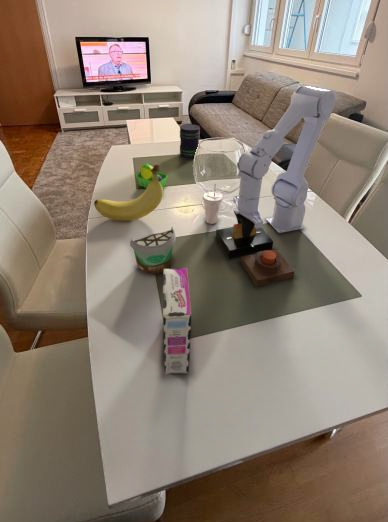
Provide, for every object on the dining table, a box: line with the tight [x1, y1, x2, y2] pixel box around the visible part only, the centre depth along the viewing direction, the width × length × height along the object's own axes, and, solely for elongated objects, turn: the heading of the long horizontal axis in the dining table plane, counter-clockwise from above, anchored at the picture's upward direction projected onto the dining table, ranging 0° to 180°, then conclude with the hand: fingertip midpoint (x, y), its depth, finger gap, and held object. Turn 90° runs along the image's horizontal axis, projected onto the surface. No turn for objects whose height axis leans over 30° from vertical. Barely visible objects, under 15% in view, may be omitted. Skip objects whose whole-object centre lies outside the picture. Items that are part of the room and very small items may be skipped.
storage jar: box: [179, 123, 201, 160], centre depth 148 cm, size 10×10×15 cm
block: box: [240, 249, 296, 287], centre depth 80 cm, size 11×9×4 cm
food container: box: [129, 227, 177, 275], centre depth 78 cm, size 12×6×10 cm, turn 117°
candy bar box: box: [162, 267, 192, 375], centre depth 57 cm, size 11×5×16 cm, turn 5°
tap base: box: [215, 226, 274, 259], centre depth 90 cm, size 14×11×3 cm
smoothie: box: [202, 183, 223, 225], centre depth 98 cm, size 6×6×14 cm
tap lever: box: [232, 223, 257, 239], centre depth 88 cm, size 7×2×4 cm, turn 108°
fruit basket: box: [135, 163, 169, 189], centre depth 118 cm, size 11×9×11 cm
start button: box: [261, 250, 276, 264], centre depth 79 cm, size 4×4×2 cm
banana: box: [93, 164, 164, 221], centre depth 96 cm, size 23×6×20 cm, turn 92°
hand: (244, 234), depth 89 cm, fingers closed on tap lever, 2 cm apart
